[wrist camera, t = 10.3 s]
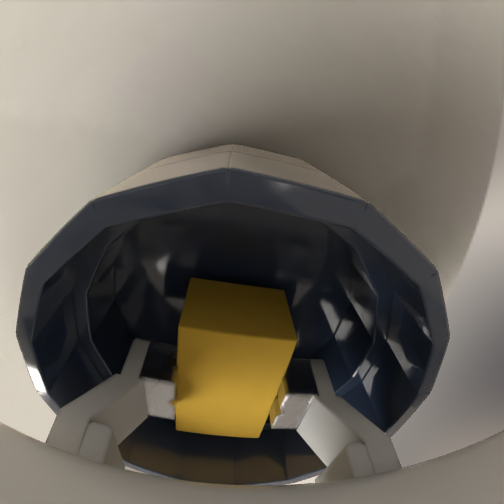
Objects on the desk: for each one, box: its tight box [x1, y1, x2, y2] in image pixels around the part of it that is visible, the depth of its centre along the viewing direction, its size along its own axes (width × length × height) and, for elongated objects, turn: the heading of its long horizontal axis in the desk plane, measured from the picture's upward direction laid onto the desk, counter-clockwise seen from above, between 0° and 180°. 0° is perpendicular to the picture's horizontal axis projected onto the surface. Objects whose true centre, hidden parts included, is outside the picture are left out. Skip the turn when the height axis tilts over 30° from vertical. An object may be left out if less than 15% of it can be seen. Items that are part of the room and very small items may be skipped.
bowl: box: [16, 144, 450, 486], centre depth 9 cm, size 11×11×6 cm
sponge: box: [176, 277, 297, 438], centre depth 9 cm, size 5×3×2 cm, turn 170°
